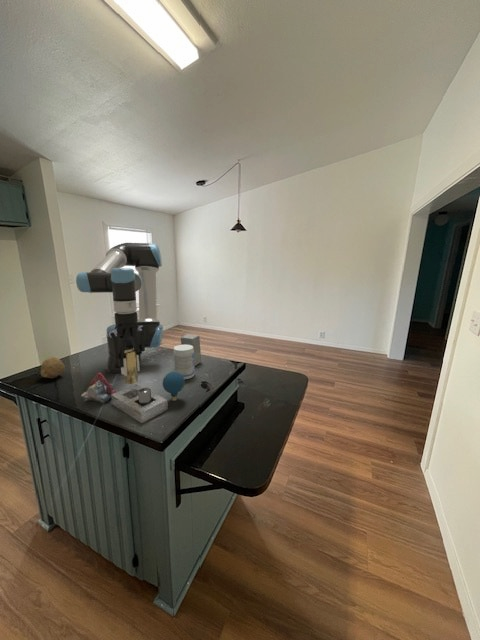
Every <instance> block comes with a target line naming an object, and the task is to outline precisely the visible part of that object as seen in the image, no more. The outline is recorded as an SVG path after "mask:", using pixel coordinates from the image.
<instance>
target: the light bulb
mask: <svg viewBox="0 0 480 640" xmlns="http://www.w3.org/2000/svg"><path fill="white" fill-rule="evenodd" d="M185 383H186V382H185V379H184V377H183V376H182V375H181V374H180V373H178V372H174V371H171V372H168V373H167V374H166V375H165V376H164V377H163V379H162V387H163V389H164V391H166V392H167V393H169V394H170V396H171V400H172V401H177V400H178V397H177V396H178V393H179V392H181V391H182V390H183V388H184V387H185Z"/></svg>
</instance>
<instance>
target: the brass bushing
mask: <svg viewBox="0 0 480 640" xmlns="http://www.w3.org/2000/svg"><path fill="white" fill-rule="evenodd" d="M124 358H126V365H127V375H126V376H125V375H124V382H125V384H127V385H132V384H135V383H137V382H138V380H139V379H138V371H137V365H136V351H135V350H134V349H133V350H125V352H124Z"/></svg>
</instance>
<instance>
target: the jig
mask: <svg viewBox="0 0 480 640" xmlns="http://www.w3.org/2000/svg"><path fill="white" fill-rule="evenodd" d="M110 400H111V404H112V405H113V406H115V407H116V408H117V409H119V410H120V411H122V412H124V413H125V414H127V415H128V416H130V417H131V418H133V419H135V420H136V421H138V422H139V423H141V424H143V423H145V422H147V421H149V420H151V419H153V418H155V417H157V416H158V415H161V414H162V413H163V412H165V411H167V410H169V409H168V405H169V404H168V399H166V398H164V397H162V396H160V395H159V394H157V393H155V392H152V390H151V388H149V387H143V386H140V385H139V384H134V385H131V386H129V387H127V388H124V389H121V390H119V391H116V392H115V393H114V394H111V398H110Z"/></svg>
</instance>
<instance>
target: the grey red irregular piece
mask: <svg viewBox="0 0 480 640" xmlns="http://www.w3.org/2000/svg"><path fill="white" fill-rule="evenodd" d="M116 392H117V390H116V389H115V387H114V385H113V383H109V382H108V380H107V379H106V378H105V376H104V375H103V374H102V372H97V374H96V375H95V376H94V377H93V378H92V380H90V382H89V386H88V387H87V390H86V391H85V392H83V393H82V394H81V395H80V397H81V398H85V399H87V401H89V400H94V401H93V402H99V401H100V402H99V403H102V402H104V403H106V401H107V402H108V401H110V399H111V398H110V397H111V394H114V393H116Z"/></svg>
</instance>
